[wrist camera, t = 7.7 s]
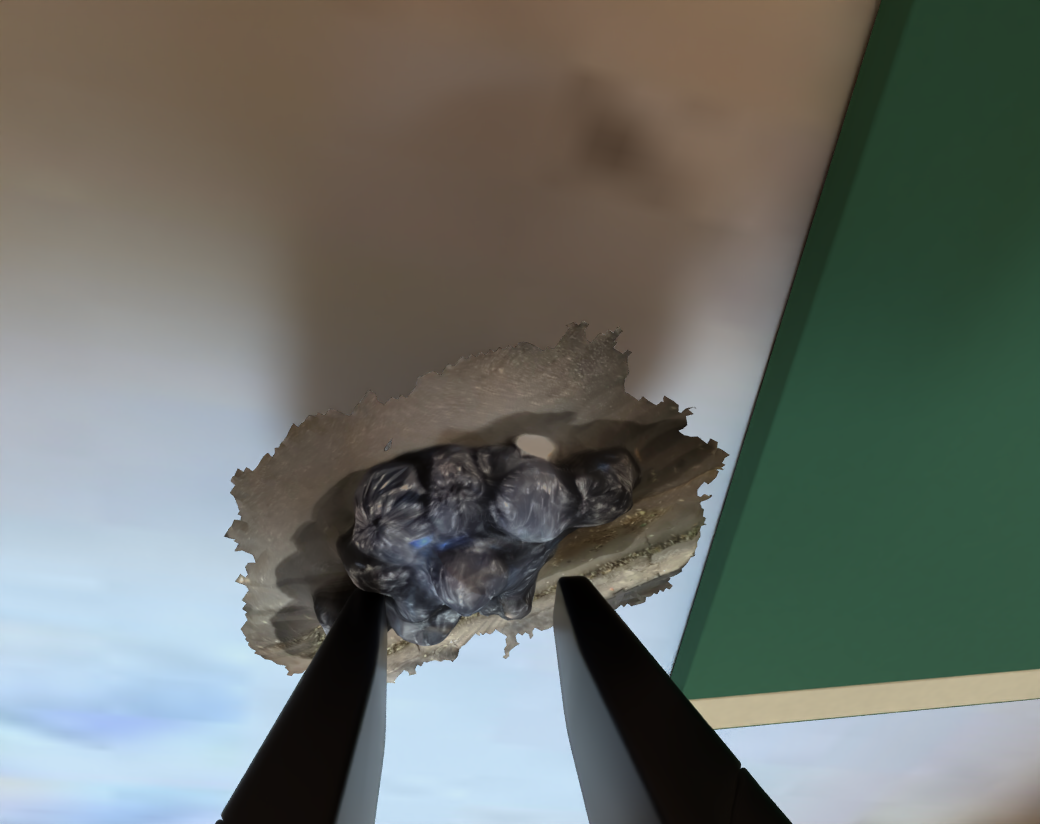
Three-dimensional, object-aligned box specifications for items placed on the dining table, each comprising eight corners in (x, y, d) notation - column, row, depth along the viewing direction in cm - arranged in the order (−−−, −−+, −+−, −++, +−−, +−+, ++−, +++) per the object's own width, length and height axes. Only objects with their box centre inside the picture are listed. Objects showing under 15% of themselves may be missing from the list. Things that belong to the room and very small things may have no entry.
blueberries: (767, 485, 11) (834, 565, 10) (434, 733, 13) (447, 834, 12) (511, 199, 8) (553, 255, 6) (103, 593, 10) (56, 713, 8)
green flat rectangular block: (1026, 675, 21) (1047, 700, 20) (660, 708, 19) (668, 736, 19) (1696, -149, 10) (1792, -155, 9) (953, -240, 8) (1003, -257, 7)
